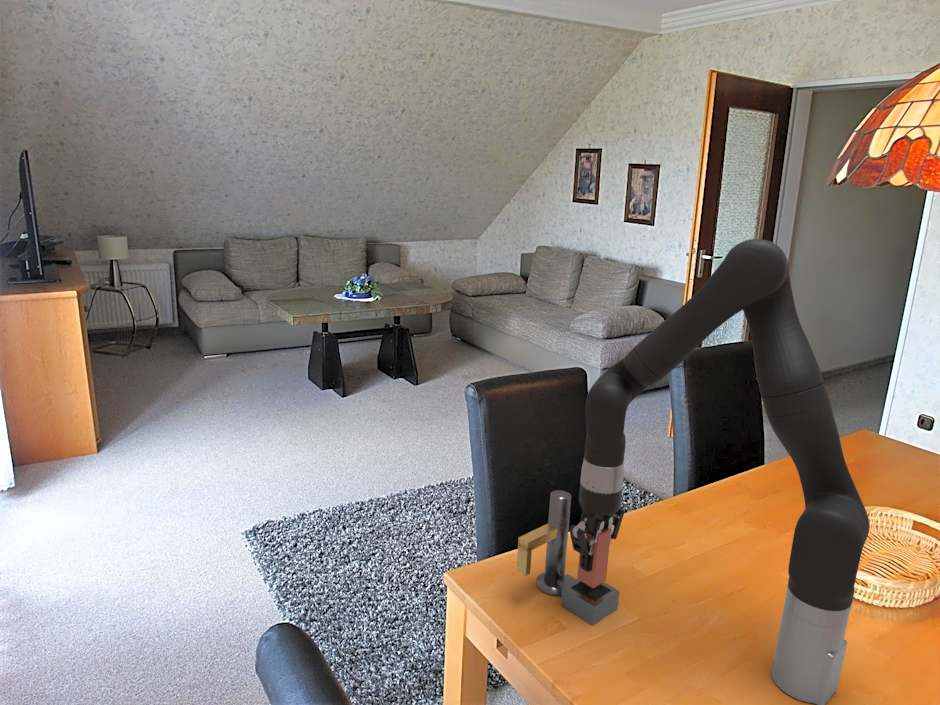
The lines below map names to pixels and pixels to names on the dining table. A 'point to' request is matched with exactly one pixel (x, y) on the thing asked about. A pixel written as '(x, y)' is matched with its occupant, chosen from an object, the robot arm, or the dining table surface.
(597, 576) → the red rectangular block
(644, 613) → the dining table surface
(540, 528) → the grey stand
